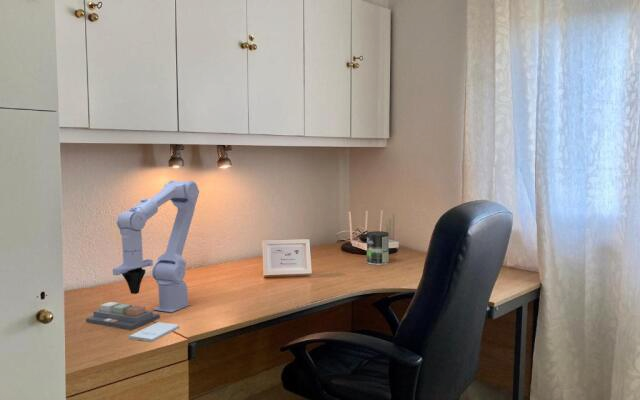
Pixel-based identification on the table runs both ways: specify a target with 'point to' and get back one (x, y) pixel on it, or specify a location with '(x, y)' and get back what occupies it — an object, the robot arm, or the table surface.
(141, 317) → the grey compartment tray
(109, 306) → the key
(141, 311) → the key
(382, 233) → the coffee can
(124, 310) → the key
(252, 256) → the table surface
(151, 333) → the external hard drive
